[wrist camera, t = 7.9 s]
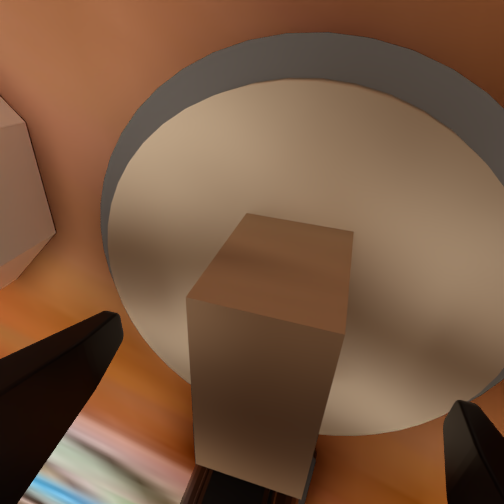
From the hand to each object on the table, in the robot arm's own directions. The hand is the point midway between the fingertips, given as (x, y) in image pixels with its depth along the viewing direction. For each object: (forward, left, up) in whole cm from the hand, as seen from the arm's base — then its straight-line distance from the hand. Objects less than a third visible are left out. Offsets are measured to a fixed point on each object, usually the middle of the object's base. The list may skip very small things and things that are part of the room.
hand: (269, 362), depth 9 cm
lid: (0, 0, -3) cm, 3 cm away
